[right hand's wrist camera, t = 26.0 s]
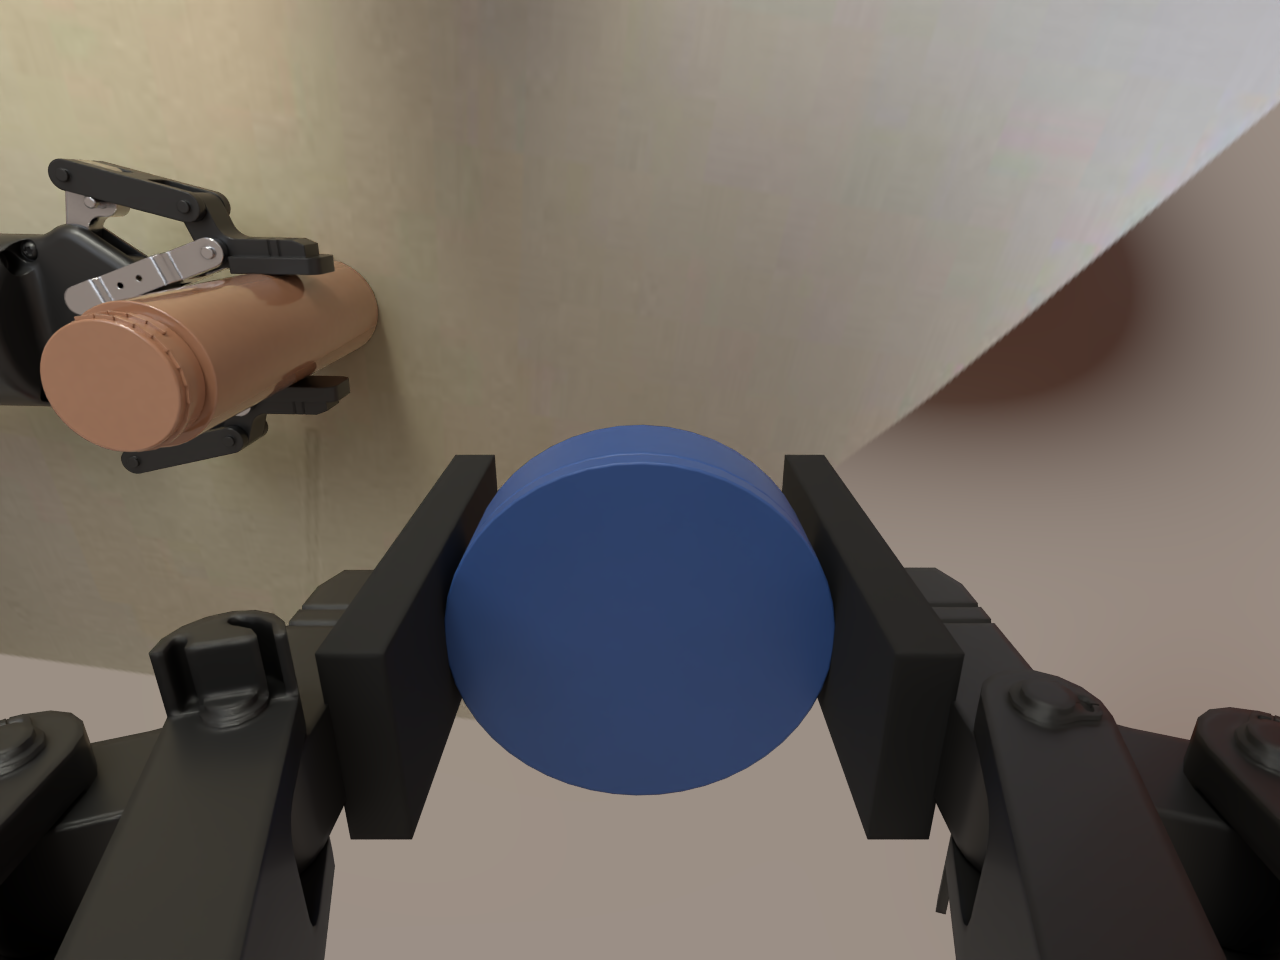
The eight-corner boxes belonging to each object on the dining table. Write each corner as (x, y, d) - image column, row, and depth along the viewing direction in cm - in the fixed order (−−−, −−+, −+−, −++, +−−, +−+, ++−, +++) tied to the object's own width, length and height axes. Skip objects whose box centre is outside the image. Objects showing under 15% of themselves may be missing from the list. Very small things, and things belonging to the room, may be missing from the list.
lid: (848, 666, 13) (879, 734, 11) (553, 759, 13) (541, 836, 12) (747, 368, 11) (766, 399, 9) (408, 497, 11) (370, 546, 10)
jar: (388, 346, 39) (214, 452, 23) (301, 359, 39) (68, 472, 23) (363, 252, 37) (155, 296, 21) (271, 266, 38) (-2, 319, 22)
